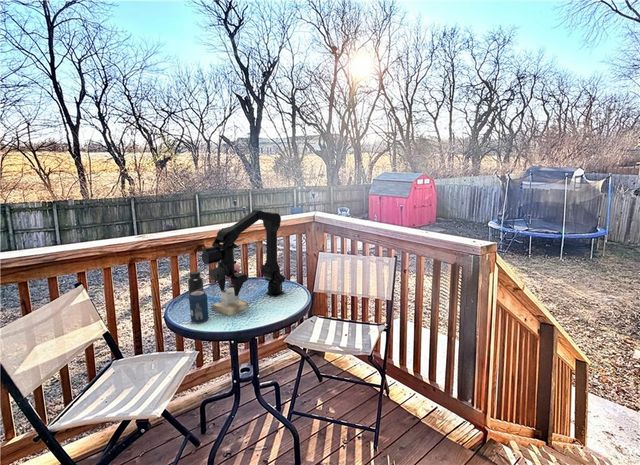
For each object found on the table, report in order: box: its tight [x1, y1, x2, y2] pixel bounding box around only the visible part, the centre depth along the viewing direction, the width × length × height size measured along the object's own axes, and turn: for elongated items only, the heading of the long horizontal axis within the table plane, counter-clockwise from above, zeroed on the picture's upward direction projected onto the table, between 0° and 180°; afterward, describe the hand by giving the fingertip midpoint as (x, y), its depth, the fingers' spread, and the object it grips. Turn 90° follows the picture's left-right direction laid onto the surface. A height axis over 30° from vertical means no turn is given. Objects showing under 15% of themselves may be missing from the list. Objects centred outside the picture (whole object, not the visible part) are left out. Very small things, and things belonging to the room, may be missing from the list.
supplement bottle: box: [187, 270, 205, 298], centre depth 179 cm, size 7×7×12 cm
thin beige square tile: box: [211, 298, 250, 317], centre depth 165 cm, size 11×11×2 cm
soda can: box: [188, 290, 210, 324], centre depth 153 cm, size 7×7×12 cm
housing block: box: [220, 286, 240, 307], centre depth 164 cm, size 6×5×6 cm
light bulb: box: [228, 263, 241, 287], centre depth 193 cm, size 7×7×12 cm
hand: (229, 293), depth 164 cm, fingers open, 9 cm apart
